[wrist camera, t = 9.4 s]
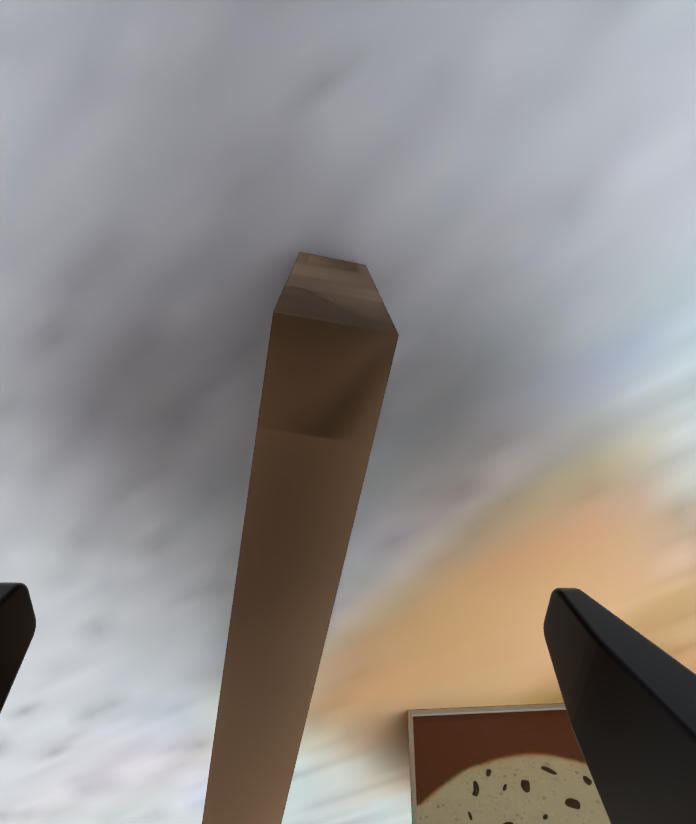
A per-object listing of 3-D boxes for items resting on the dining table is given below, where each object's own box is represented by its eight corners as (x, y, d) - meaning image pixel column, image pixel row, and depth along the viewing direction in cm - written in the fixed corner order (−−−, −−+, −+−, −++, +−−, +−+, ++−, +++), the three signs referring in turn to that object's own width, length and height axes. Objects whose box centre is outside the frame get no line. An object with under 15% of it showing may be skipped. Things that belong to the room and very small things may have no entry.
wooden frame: (365, 265, 15) (398, 335, 8) (284, 665, 22) (262, 901, 15) (299, 252, 15) (273, 311, 8) (237, 659, 22) (191, 897, 15)
